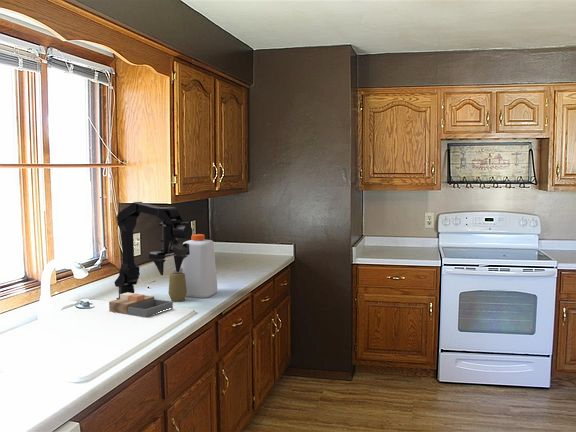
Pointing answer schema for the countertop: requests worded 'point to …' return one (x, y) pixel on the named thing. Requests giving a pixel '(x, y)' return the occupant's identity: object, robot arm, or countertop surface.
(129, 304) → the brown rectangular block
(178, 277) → the squeeze bottle
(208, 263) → the plastic bottle
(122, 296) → the cream block
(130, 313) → the charcoal bin
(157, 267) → the robot arm
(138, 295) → the terracotta tile
